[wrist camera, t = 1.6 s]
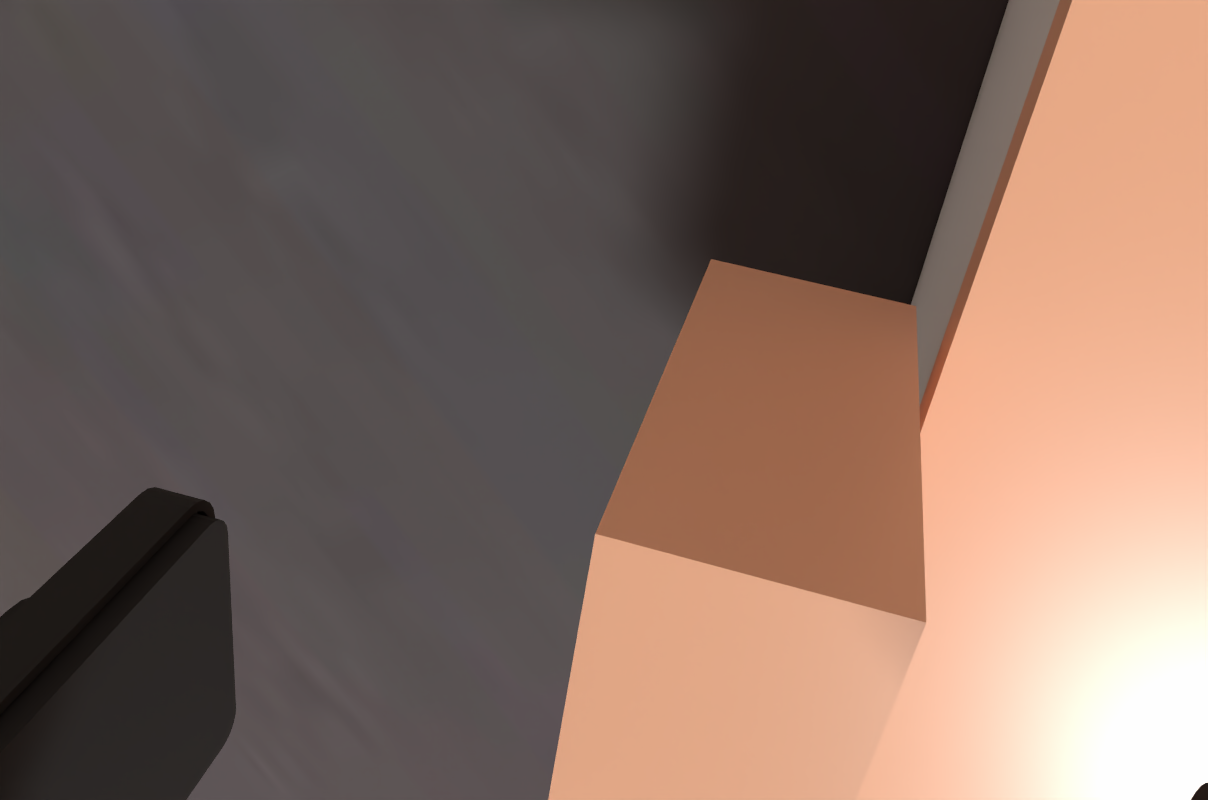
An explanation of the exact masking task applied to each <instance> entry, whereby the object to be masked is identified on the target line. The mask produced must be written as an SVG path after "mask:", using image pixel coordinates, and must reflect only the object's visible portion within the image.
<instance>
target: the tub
mask: <svg viewBox="0 0 1208 800" xmlns="http://www.w3.org/2000/svg"><path fill="white" fill-rule="evenodd" d="M1059 1H1060V0H1009V1H1008V4H1007V7H1006V10H1005V14H1004V17H1003V20H1002V23H1001V26H1000V29H999V32H998V35H997V38H996V42H995V45H994V48H993V51H992V54H991V57H990V60H989V63H988V66H987V69H986V73H985V76H984V79H983V82H982V85H981V88H980V91H979V94H978V97H977V100H976V104H975V107H974V110H973V113H972V116H971V119H970V122H969V125H968V128H967V132H966V135H965V138H964V141H963V144H962V147H961V150H960V153H959V156H958V159H957V163H956V166H955V169H954V172H953V175H952V178H951V181H950V184H949V187H948V190H947V194H946V197H945V200H944V203H943V206H942V209H941V212H940V215H939V218H938V222H937V225H936V228H935V231H934V234H933V237H932V240H931V243H930V246H929V249H928V253H927V256H926V259H925V262H924V265H923V268H922V271H921V274H920V277H919V281H918V284H917V287H916V290H915V293H914V296H913V299H912V302H911V305H913V306H916V316H917V347H918V378H919V407H920V404H921V401H922V398H923V395H924V392H925V389H926V386H927V383H928V381H929V378H930V375H931V372H932V369H933V366H934V363H935V360H936V357H937V355H938V352H939V349H940V346H941V343H942V340H943V337H944V334H945V331H946V328H947V326H948V323H949V320H950V317H951V314H952V311H953V308H954V305H955V302H956V300H957V297H958V294H959V291H960V288H961V285H962V282H963V279H964V276H965V273H966V271H967V268H968V265H969V262H970V259H971V256H972V253H973V250H974V247H975V244H976V242H977V239H978V236H979V233H980V230H981V227H982V224H983V221H984V218H985V216H986V213H987V210H988V207H989V204H990V201H991V198H992V195H993V192H994V189H995V187H996V184H997V181H998V178H999V175H1000V172H1001V169H1002V166H1003V163H1004V161H1005V158H1006V155H1007V152H1008V149H1009V146H1010V143H1011V140H1012V137H1013V134H1014V132H1015V129H1016V126H1017V123H1018V120H1019V117H1020V114H1021V111H1022V108H1023V106H1024V103H1025V100H1026V97H1027V94H1028V91H1029V88H1030V85H1031V82H1032V79H1033V77H1034V74H1035V71H1036V68H1037V65H1038V62H1039V59H1040V56H1041V53H1042V51H1043V48H1044V45H1045V42H1046V39H1047V36H1048V33H1049V30H1050V27H1051V24H1052V22H1053V19H1054V16H1055V13H1056V10H1057V7H1058V4H1059Z"/></svg>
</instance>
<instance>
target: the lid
mask: <svg viewBox="0 0 1208 800" xmlns="http://www.w3.org/2000/svg"><path fill="white" fill-rule="evenodd" d="M1205 783H1208V0H1060V1H1059V4H1058V7H1057V10H1056V13H1055V16H1054V19H1053V22H1052V24H1051V27H1050V30H1049V33H1048V36H1047V39H1046V42H1045V45H1044V48H1043V51H1042V53H1041V56H1040V59H1039V62H1038V65H1037V68H1036V71H1035V74H1034V77H1033V79H1032V82H1031V85H1030V88H1029V91H1028V94H1027V97H1026V100H1025V103H1024V106H1023V108H1022V111H1021V114H1020V117H1019V120H1018V123H1017V126H1016V129H1015V132H1014V134H1013V137H1012V140H1011V143H1010V146H1009V149H1008V152H1007V155H1006V158H1005V161H1004V163H1003V166H1002V169H1001V172H1000V175H999V178H998V181H997V184H996V187H995V189H994V192H993V195H992V198H991V201H990V204H989V207H988V210H987V213H986V216H985V218H984V221H983V224H982V227H981V230H980V233H979V236H978V239H977V242H976V244H975V247H974V250H973V253H972V256H971V259H970V262H969V265H968V268H967V271H966V273H965V276H964V279H963V282H962V285H961V288H960V291H959V294H958V297H957V300H956V302H955V305H954V308H953V311H952V314H951V317H950V320H949V323H948V326H947V328H946V331H945V334H944V337H943V340H942V343H941V346H940V349H939V352H938V355H937V357H936V360H935V363H934V366H933V369H932V372H931V375H930V378H929V381H928V383H927V386H926V389H925V392H924V395H923V398H922V401H921V404H920V407H919V378H918V347H917V316H916V306H913V305H909V304H905V303H900V302H896V301H892V300H887V299H883V298H879V297H874V296H870V295H865V294H861V293H857V292H852V291H848V290H844V289H839V288H835V287H831V286H826V285H822V284H818V283H813V282H809V281H805V280H800V279H796V278H792V277H787V276H783V275H778V274H774V273H770V272H765V271H761V270H757V269H752V268H748V267H744V266H739V265H735V264H731V263H726V262H722V261H718V260H713V259H711V261H710V263H709V265H708V268H707V270H706V273H705V275H704V277H703V280H702V282H701V284H700V287H699V289H698V292H697V294H696V296H695V299H694V301H693V303H692V306H691V308H690V311H689V313H688V315H687V318H686V320H685V322H684V325H683V327H682V330H681V332H680V334H679V337H678V339H677V341H676V344H675V346H674V349H673V351H672V353H671V356H670V358H669V360H668V363H667V365H666V367H665V370H664V372H663V375H662V377H661V379H660V382H659V384H658V386H657V389H656V391H655V394H654V396H653V398H652V401H651V403H650V405H649V408H648V410H647V413H646V415H645V417H644V420H643V422H642V424H641V427H640V429H639V432H638V434H637V436H636V439H635V441H634V443H633V446H632V448H631V451H630V453H629V455H628V458H627V460H626V462H625V465H624V467H623V470H622V472H621V474H620V477H619V479H618V481H617V484H616V486H615V489H614V491H613V493H612V496H611V498H610V500H609V503H608V505H607V508H606V510H605V512H604V515H603V517H602V519H601V522H600V524H599V527H598V529H597V531H596V534H595V539H594V545H593V550H592V556H591V562H590V567H589V573H588V579H587V584H586V590H585V596H584V601H583V607H582V612H581V618H580V624H579V629H578V635H577V641H576V646H575V652H574V658H573V663H572V669H571V675H570V680H569V686H568V691H567V697H566V703H565V708H564V714H563V720H562V725H561V731H560V737H559V742H558V748H557V753H556V759H555V765H554V770H553V776H552V782H551V787H550V793H549V799H548V800H1191V799H1192V797H1193V795H1194V794H1195V792H1196V791H1197V790H1198V788H1199V787H1200V786H1201V785H1203V784H1205Z"/></svg>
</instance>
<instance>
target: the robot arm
mask: <svg viewBox="0 0 1208 800" xmlns="http://www.w3.org/2000/svg"><path fill="white" fill-rule="evenodd" d="M235 712H236V701H235V679H234V657H233V635H232V613H231V592H230V570H229V548H228V531H227V526H226V524H225V522H224V521H222V520H219V519H215V514H214V509H213V507H212V505H211V504H210V502H207V501H205V500H201V499H198V498H194V497H190V496H186V495H182V494H179V493H175V492H171V491H167V490H164V489H160V488H156V487H154V488H149V489H147V490H145V491H144V492H142V493H141V494H140V495H138V496H137V497H136V498H135V499H134V500H133V501H132V502H131V503H130V504H129V505H128V506H127V507H126V508H125V509H124V510H122V511H121V512H120V513H119V514H118V515H117V516H116V517H115V518H114V519H113V520H112V521H111V522H110V523H109V524H108V525H107V526H105V527H104V528H103V529H102V530H101V531H100V532H99V533H98V534H97V535H96V536H95V537H94V538H93V539H92V540H91V541H89V542H88V543H87V544H86V545H85V546H84V547H83V548H82V549H81V550H80V551H79V552H78V553H77V554H76V555H75V556H74V557H72V558H71V559H70V560H69V561H68V562H67V563H66V564H65V565H64V566H63V567H62V568H61V569H60V570H59V571H58V572H56V573H55V574H54V575H53V576H52V577H51V578H50V579H49V580H48V581H47V582H46V583H45V584H44V585H43V586H42V587H41V588H39V589H38V590H37V591H36V592H35V593H34V594H33V595H32V596H31V597H30V598H27V599H24V600H21V601H20V602H19V603H17V604H16V605H14V606H13V607H12V608H10V609H9V610H8V611H6V612H5V613H4V614H3V615H2V616H1V617H0V800H186V799H187V798H188V796H189V795H190V794H191V792H192V791H193V789H194V788H195V786H196V785H197V783H198V782H199V781H200V779H201V778H202V776H203V775H204V773H205V772H206V770H207V769H208V768H209V766H210V765H211V763H212V762H213V760H214V759H215V757H216V756H217V755H218V753H219V752H220V750H221V749H222V747H223V746H224V744H225V742H226V741H227V738H228V736H229V734H230V732H231V729H232V726H233V723H234V718H235ZM1191 800H1208V783H1205V784H1203V785H1201V786H1200V787H1199V788H1198V790H1197V791H1196V792H1195V794H1194V795H1193V797H1192V799H1191Z"/></svg>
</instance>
